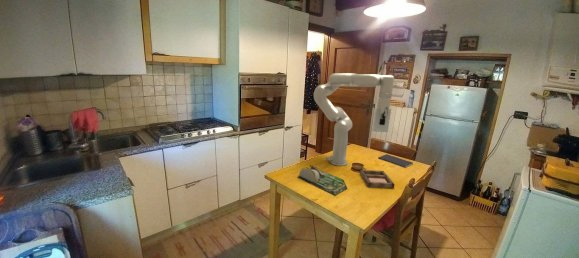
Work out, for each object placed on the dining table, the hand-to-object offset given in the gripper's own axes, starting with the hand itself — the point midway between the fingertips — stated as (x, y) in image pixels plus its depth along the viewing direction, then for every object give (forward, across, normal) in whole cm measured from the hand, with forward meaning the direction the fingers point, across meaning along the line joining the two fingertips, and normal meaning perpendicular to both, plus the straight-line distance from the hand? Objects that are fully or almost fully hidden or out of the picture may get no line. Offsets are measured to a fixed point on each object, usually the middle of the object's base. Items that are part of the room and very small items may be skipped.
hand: (380, 123), depth 154 cm
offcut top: (+32, +19, -4) cm, 38 cm away
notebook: (+34, -21, +23) cm, 46 cm away
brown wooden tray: (+33, +16, -4) cm, 37 cm away
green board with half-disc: (+34, +17, -37) cm, 53 cm away
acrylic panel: (+5, 0, 0) cm, 5 cm away
